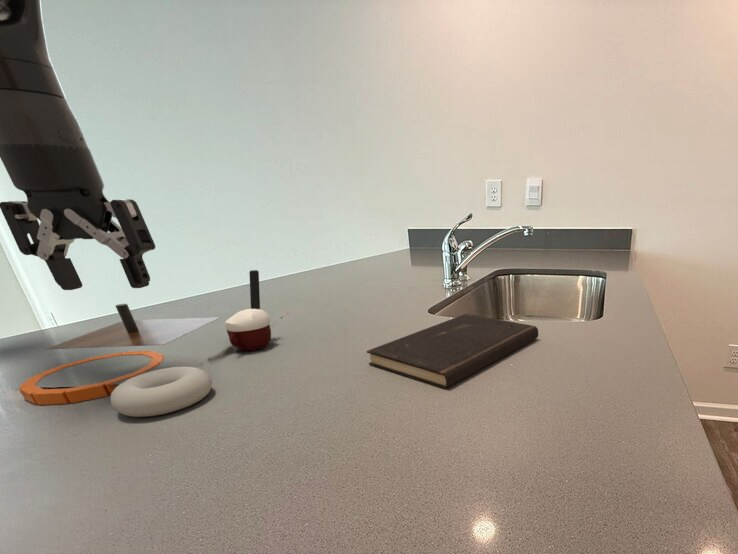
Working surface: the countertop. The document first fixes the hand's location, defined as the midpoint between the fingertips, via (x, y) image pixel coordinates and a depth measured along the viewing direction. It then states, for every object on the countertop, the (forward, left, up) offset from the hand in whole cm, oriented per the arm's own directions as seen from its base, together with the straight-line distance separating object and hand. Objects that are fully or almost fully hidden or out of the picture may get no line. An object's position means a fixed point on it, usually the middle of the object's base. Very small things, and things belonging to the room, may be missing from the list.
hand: (107, 288), depth 53 cm
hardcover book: (+44, +6, -13) cm, 47 cm away
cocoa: (+9, +12, -13) cm, 20 cm away
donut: (+8, -8, -13) cm, 18 cm away
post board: (-14, +19, -13) cm, 27 cm away
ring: (-6, 0, -13) cm, 15 cm away
